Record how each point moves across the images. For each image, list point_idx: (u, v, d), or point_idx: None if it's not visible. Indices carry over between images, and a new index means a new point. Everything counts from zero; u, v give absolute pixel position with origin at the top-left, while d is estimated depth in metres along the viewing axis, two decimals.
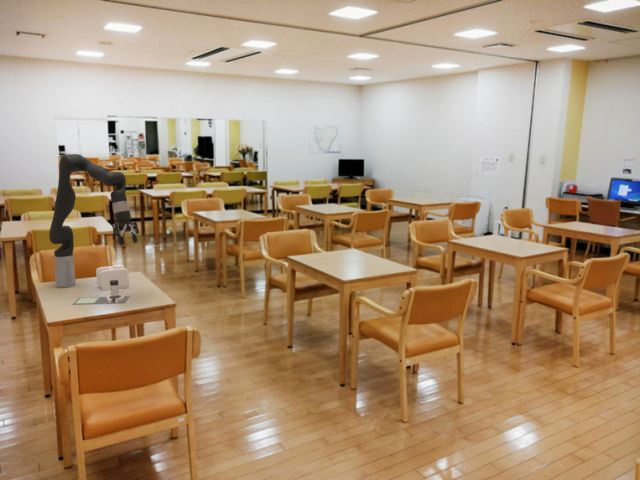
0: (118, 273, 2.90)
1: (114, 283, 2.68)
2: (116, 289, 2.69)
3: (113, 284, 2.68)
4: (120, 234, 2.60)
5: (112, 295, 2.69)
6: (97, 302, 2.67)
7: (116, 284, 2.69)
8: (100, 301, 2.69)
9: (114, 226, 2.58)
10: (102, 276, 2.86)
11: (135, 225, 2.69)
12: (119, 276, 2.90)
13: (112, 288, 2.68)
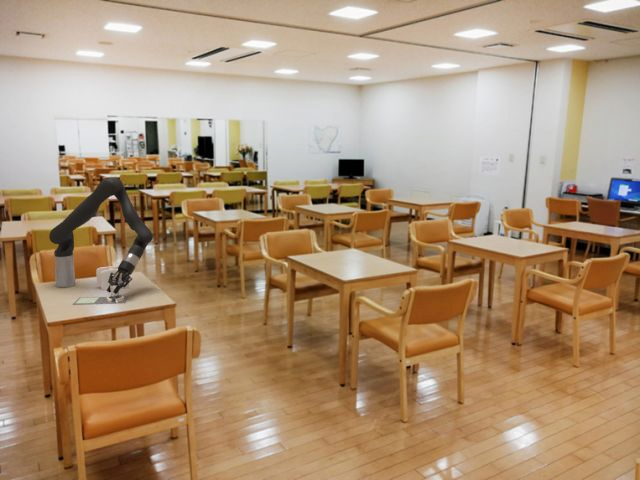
0: None
1: (114, 283, 2.68)
2: None
3: (113, 284, 2.68)
4: None
5: (112, 295, 2.69)
6: (97, 302, 2.67)
7: (116, 284, 2.69)
8: (100, 301, 2.69)
9: (129, 279, 2.70)
10: (102, 276, 2.86)
11: None
12: None
13: (112, 288, 2.68)
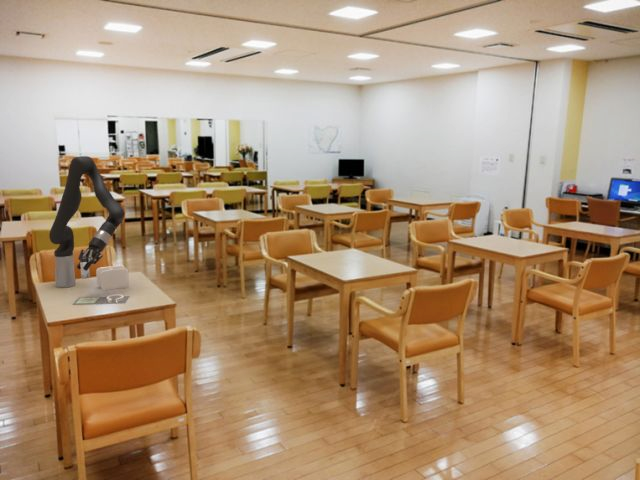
0: (118, 273, 2.90)
1: (84, 260, 2.64)
2: None
3: (83, 261, 2.64)
4: None
5: (82, 272, 2.65)
6: (97, 302, 2.67)
7: (86, 261, 2.65)
8: (100, 301, 2.69)
9: (100, 256, 2.66)
10: (102, 276, 2.86)
11: None
12: (119, 276, 2.90)
13: (82, 265, 2.64)
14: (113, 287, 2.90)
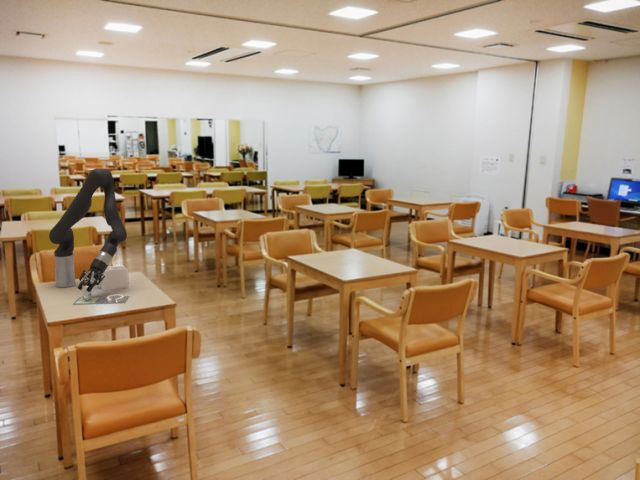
0: (118, 273, 2.90)
1: (86, 283, 2.66)
2: None
3: (85, 284, 2.66)
4: None
5: (84, 295, 2.67)
6: (97, 302, 2.67)
7: (88, 284, 2.67)
8: (100, 301, 2.69)
9: (102, 276, 2.68)
10: None
11: None
12: (119, 276, 2.90)
13: (84, 288, 2.67)
14: (113, 287, 2.90)
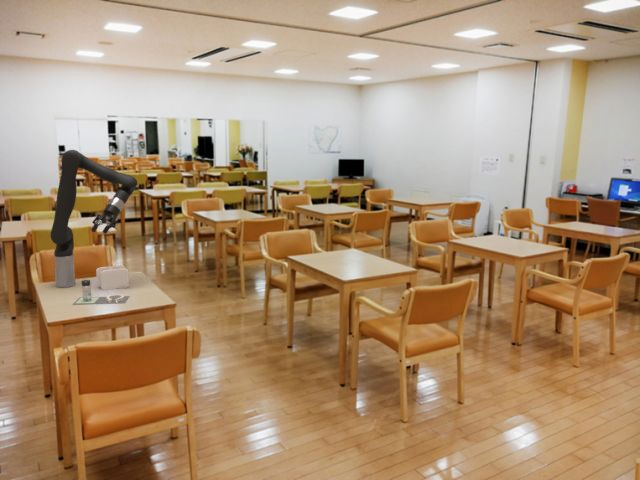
0: (118, 273, 2.90)
1: (85, 283, 2.66)
2: (88, 289, 2.67)
3: (84, 284, 2.66)
4: (111, 226, 2.82)
5: (84, 295, 2.67)
6: (97, 302, 2.67)
7: (88, 284, 2.67)
8: (100, 301, 2.69)
9: (116, 219, 2.83)
10: (102, 276, 2.86)
11: None
12: (119, 276, 2.90)
13: (83, 288, 2.66)
14: (113, 287, 2.90)
